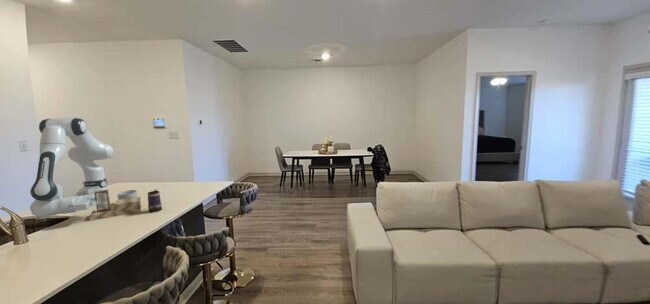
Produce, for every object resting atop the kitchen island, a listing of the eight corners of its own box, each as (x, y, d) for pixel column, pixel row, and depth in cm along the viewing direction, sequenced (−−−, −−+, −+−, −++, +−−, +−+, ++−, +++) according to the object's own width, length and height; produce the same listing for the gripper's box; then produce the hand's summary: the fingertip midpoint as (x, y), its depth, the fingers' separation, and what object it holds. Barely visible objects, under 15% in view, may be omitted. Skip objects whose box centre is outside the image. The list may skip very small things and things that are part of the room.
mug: (160, 211, 173) (157, 192, 171) (147, 213, 171) (144, 193, 170) (165, 206, 183) (163, 188, 181) (152, 207, 181) (150, 189, 180)
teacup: (131, 205, 187) (129, 193, 186) (114, 206, 187) (112, 194, 186) (144, 199, 201) (143, 188, 200) (129, 199, 201) (127, 188, 200)
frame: (97, 212, 166) (94, 192, 164) (98, 211, 169) (95, 191, 167) (110, 210, 169) (107, 190, 167) (110, 209, 172) (108, 189, 170)
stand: (90, 220, 162) (88, 208, 161) (93, 215, 171) (92, 203, 170) (140, 212, 174) (138, 200, 173) (141, 207, 182) (140, 196, 181)
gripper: (64, 204, 152) (97, 199, 159) (75, 194, 170) (104, 191, 176) (66, 215, 153) (99, 210, 159) (76, 205, 170) (105, 200, 177)
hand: (102, 200), depth 168 cm, fingers open, 8 cm apart
